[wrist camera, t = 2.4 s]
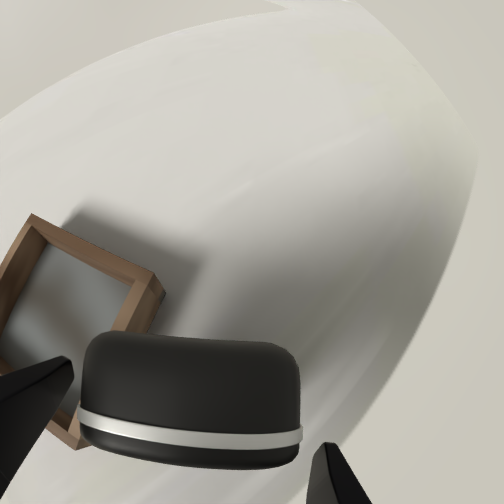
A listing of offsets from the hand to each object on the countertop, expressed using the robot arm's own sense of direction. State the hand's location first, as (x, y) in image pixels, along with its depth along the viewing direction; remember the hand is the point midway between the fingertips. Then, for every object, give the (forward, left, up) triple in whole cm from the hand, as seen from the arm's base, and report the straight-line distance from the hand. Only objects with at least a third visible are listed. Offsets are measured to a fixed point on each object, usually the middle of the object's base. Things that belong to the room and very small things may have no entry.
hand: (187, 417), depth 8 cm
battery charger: (+1, 0, -9) cm, 9 cm away
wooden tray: (0, +11, -9) cm, 14 cm away
